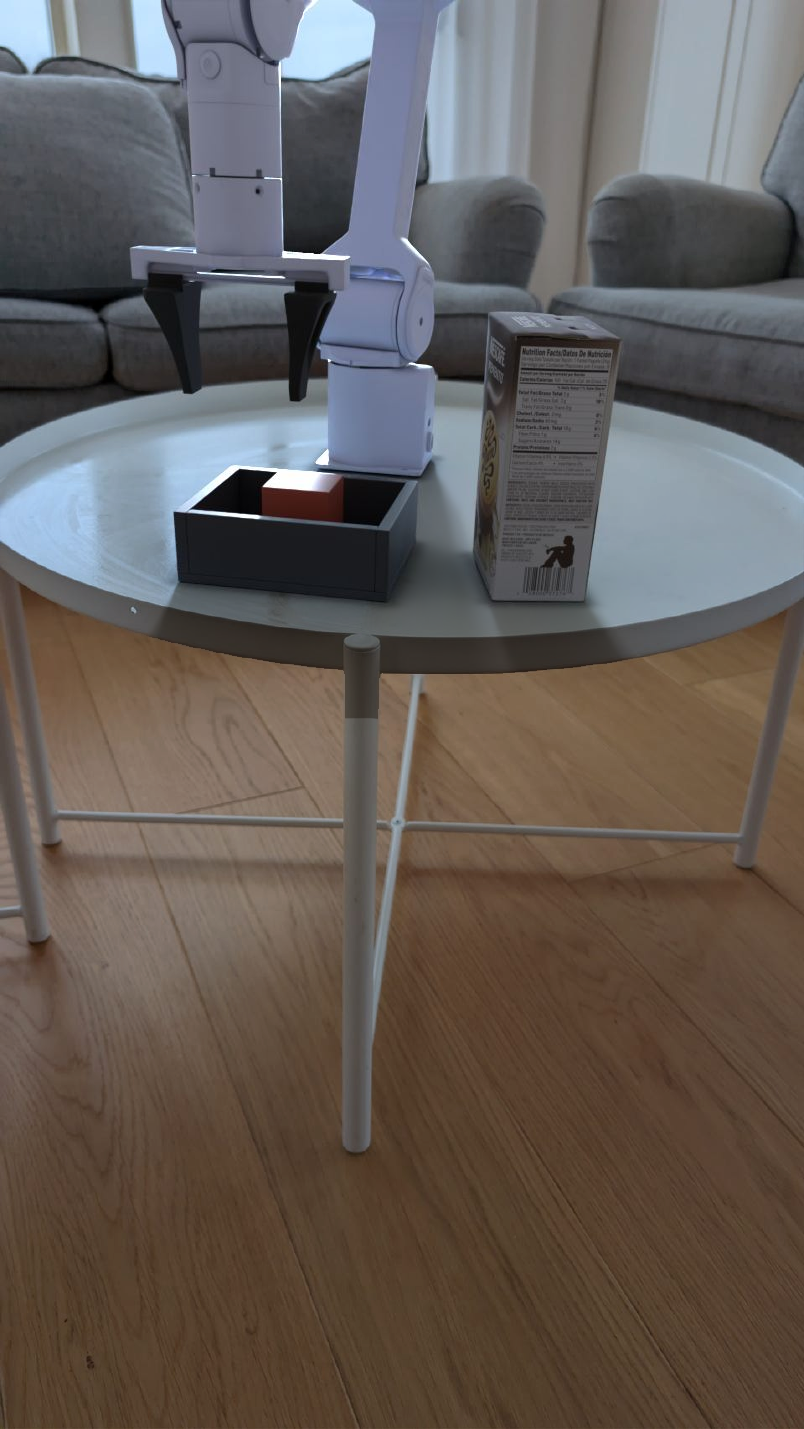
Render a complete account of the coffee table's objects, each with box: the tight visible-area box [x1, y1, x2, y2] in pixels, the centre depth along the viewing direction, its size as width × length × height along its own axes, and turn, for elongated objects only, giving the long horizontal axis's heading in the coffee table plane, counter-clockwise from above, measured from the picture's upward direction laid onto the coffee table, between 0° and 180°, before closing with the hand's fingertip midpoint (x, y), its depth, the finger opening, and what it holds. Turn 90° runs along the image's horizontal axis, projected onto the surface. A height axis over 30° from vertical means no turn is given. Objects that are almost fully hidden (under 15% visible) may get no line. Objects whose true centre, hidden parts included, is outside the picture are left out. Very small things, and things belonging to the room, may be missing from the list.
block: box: [262, 469, 344, 523], centre depth 68 cm, size 4×4×5 cm
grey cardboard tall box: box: [472, 311, 623, 602], centre depth 65 cm, size 9×6×16 cm
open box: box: [172, 464, 419, 603], centre depth 69 cm, size 14×12×5 cm
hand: (244, 395), depth 72 cm, fingers open, 7 cm apart
